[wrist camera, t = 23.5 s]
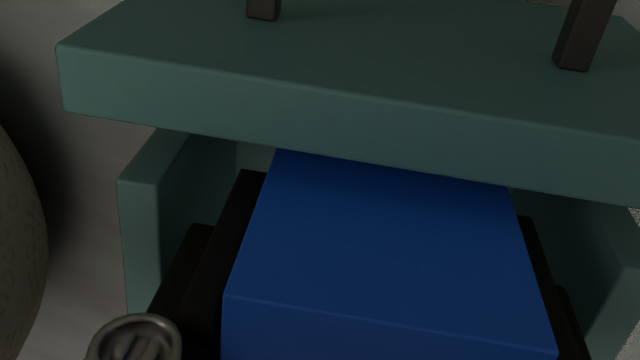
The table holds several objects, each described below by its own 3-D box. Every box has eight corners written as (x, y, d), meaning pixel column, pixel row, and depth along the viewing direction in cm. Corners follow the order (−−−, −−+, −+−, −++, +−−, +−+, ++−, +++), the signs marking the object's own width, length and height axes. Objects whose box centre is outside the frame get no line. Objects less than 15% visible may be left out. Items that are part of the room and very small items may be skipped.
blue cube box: (504, 172, 11) (561, 353, 7) (447, 329, 13) (468, 524, 9) (280, 135, 11) (221, 294, 7) (264, 297, 13) (214, 478, 10)
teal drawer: (203, -334, 12) (-30, -525, 5) (738, -257, 12) (1176, -362, 5) (198, 302, 22) (116, 498, 16) (479, 352, 22) (514, 574, 16)
